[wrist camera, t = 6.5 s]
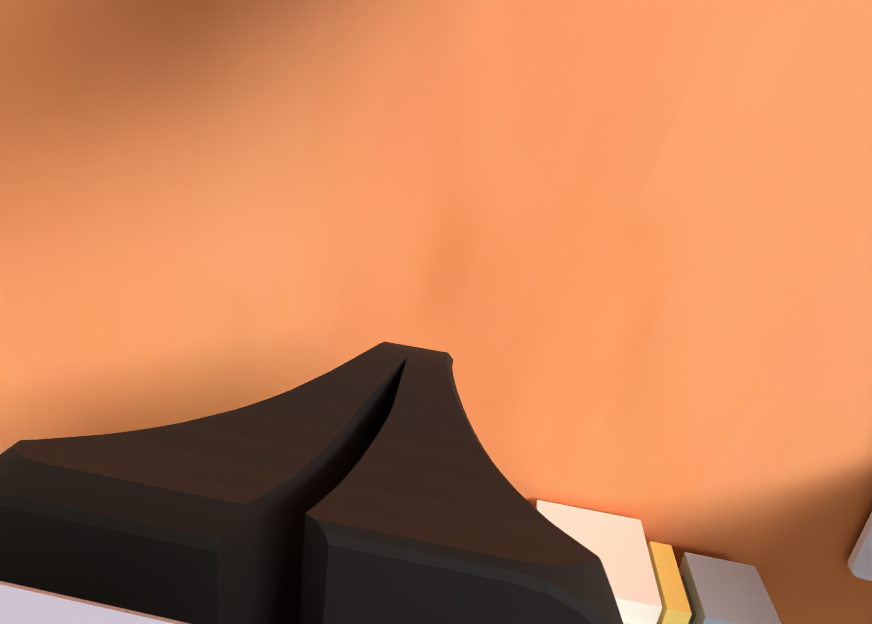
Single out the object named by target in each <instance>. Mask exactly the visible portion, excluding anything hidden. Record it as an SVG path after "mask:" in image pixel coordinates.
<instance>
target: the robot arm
mask: <svg viewBox="0 0 872 624" xmlns="http://www.w3.org/2000/svg"><path fill="white" fill-rule="evenodd" d="M452 364H453V359H452V357H451V356H450V355H449V353H446V352H440V351H435V350H429V349H423V348H417V347H412V346H406V345H400V344H395V343H389V342H383V343H380V344H378V345H377V346H375V347H373V348H371V349H369V350H368V351H366V352H364V353H362V354H361V355H359V356H357V357H355V358H354V359H352V360H350V361H348V362H346V363H345V364H343V365H341V366H339V367H337V368H335V369H334V370H332V371H330V372H328V373H326V374H324V375H322V376H320V377H317V378H315V379H313V380H311V381H309V382H307V383H305V384H303V385H300V386H298V387H296V388H294V389H292V390H290V391H287V392H285V393H282V394H280V395H277V396H274V397H272V398H269V399H266V400H263V401H260V402H258V403H255V404H252V405H249V406H246V407H242V408H239V409H236V410H232V411H228V412H224V413H220V414H216V415H212V416H208V417H204V418H200V419H196V420H192V421H188V422H183V423H178V424H173V425H167V426H161V427H156V428H150V429H143V430H136V431H129V432H122V433H113V434H104V435H93V436H80V437H66V438H53V439H40V440H20V441H19V442H17V443H16V444H14V445H13V446H12V447H10V448H9V449H7V450H6V451H5V452H3V453H2V454H0V624H623V621H622V618H621V615H620V612H619V608H618V605H617V602H616V599H615V596H614V593H613V591H612V588H611V585H610V583H609V580H608V577H607V574H606V572H605V569H604V567H603V564H602V562H601V560H600V558H599V557H598V556H597V555H596V554H594V553H593V552H592V551H590V550H589V549H587V548H586V547H585V546H583V545H582V544H580V543H579V542H578V541H576V540H575V539H573V538H572V537H571V536H569V535H568V534H567V533H565V532H564V531H562V530H561V529H560V528H558V527H557V526H555V525H554V524H553V523H552V522H550V521H549V520H548V519H547V518H546V517H545V516H543V515H542V514H541V513H540V512H539V511H538V510H537V509H536V508H534V507H533V506H532V505H531V504H530V503H529V502H528V501H527V500H526V499H525V498H524V497H523V496H522V495H521V494H520V493H519V492H518V491H517V490H516V489H515V488H514V487H513V486H512V485H511V484H510V482H509V481H508V480H507V479H506V478H505V477H504V476H503V475H502V473H501V472H500V471H499V470H498V468H497V467H496V466H495V464H494V463H493V462H492V460H491V459H490V457H489V456H488V454H487V453H486V451H485V450H484V448H483V446H482V445H481V443H480V441H479V440H478V438H477V436H476V434H475V432H474V430H473V428H472V426H471V424H470V422H469V420H468V418H467V416H466V413H465V411H464V409H463V406H462V403H461V400H460V398H459V395H458V392H457V389H456V385H455V381H454V377H453V371H452ZM848 567H849V569H850V571H851V572H852V574H853V575H854V576H856V577H857V578H860V579H865V580H870V581H872V512H871V514H870V516H869V518H868V520H867V522H866V525H865V527H864V529H863V531H862V533H861V535H860V537H859V539H858V541H857V543H856V545H855V547H854V549H853V551H852V553H851V555H850V557H849V559H848Z"/></svg>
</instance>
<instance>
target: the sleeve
mask: <svg viewBox="0 0 872 624" xmlns="http://www.w3.org/2000/svg"><path fill="white" fill-rule="evenodd" d="M536 509H537V510H538V511H539V512H540V513H541V514H542V515H543V516H545V517H546V518H547V519H548V520H549V521H550V522H552V523H553V524H554V525H555V526H557V527H558V528H560V529H561V530H562V531H564V532H565V533H567V534H568V535H569V536H571V537H572V538H573V539H575V540H576V541H578V542H579V543H580V544H582V545H583V546H585V547H586V548H587V549H589V550H590V551H592V552H593V553H594V554H596V555H597V556H598V557H599V558H600V560H601V562H602V564H603V567H604V569H605V572H606V574H607V577H608V580H609V583H610V585H611V588H612V591H613V593H614V596H615V599H616V602H617V605H618V608H619V612H620V615H621V618H622V621H623V624H657V621H658V618H659V615H660V613H661V610H662V604H661V600H660V596H659V592H658V588H657V584H656V580H655V576H654V572H653V568H652V564H651V560H650V556H649V552H648V548H647V544H646V540H645V536H644V532H643V528H642V524H641V520H639V519H634V518H628V517H623V516H618V515H613V514H608V513H603V512H598V511H592V510H587V509H582V508H577V507H572V506H567V505H562V504H557V503H551V502H546V501H541V500H537V503H536Z"/></svg>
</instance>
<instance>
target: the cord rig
mask: <svg viewBox="0 0 872 624" xmlns="http://www.w3.org/2000/svg"><path fill="white" fill-rule="evenodd" d="M648 552H649V556H650V560H651V564H652V568H653V572H654V576H655V580H656V584H657V588H658V592H659V596H660V600H661V604H662V610H661V613H660V615H659V618H658V621H657V624H782V623H781V621H780V618H779V616H778V614H777V612H776V610H775V608H774V605H773V603H772V601H771V599H770V597H769V595H768V592H767V590H766V588H765V586H764V584H763V582H762V579H761V577H760V575H759V573H758V571H757V569H756V566H753V565H748V564H743V563H738V562H733V561H728V560H723V559H718V558H713V557H708V556H703V555H698V554H693V553H688V552H684V555H683V557H682V560H681V563H680V566H679V569H678V566H677V563H676V560H675V556H674V553H673V550H672V546H671V545H667V544H662V543H657V542H652V541H650V542H649V545H648Z"/></svg>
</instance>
